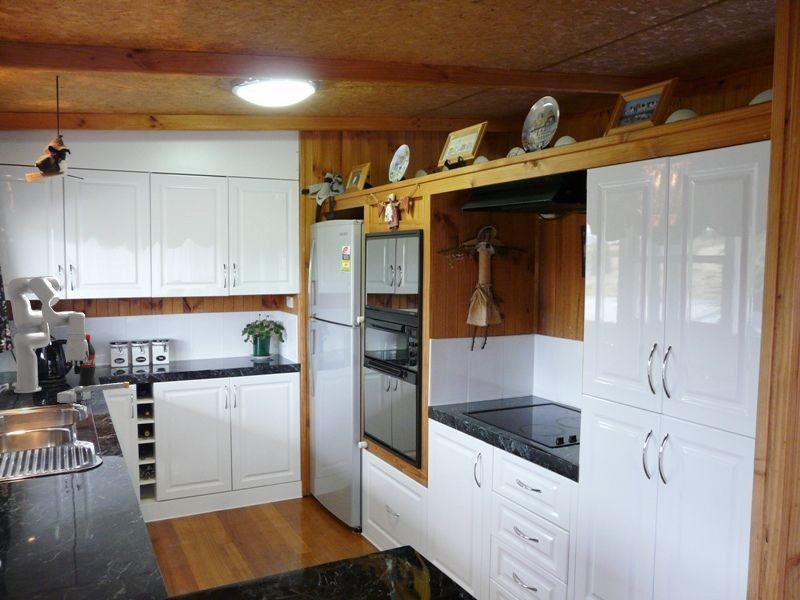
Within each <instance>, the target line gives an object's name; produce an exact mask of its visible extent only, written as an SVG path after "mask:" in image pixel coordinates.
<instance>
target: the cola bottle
mask: <svg viewBox="0 0 800 600" xmlns="http://www.w3.org/2000/svg"><path fill="white" fill-rule="evenodd" d="M85 336H86V340H87V344H88V351H89V358H88V362H86V363H84V364H83V365H82V373H81V374H78V375H79V379H78V384H77V386H93V385H97V381H96V379H95V375H96V374H95V373H96V367H97V366H96V350H95V348H94V345H93V344H92V343H91V334H87V333H85ZM83 360H84V359H83Z"/></svg>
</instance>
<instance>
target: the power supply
mask: <svg viewBox="0 0 800 600" xmlns="http://www.w3.org/2000/svg"><path fill="white" fill-rule="evenodd" d="M56 398H57V399H56V401H57V402H59V403H74V402H76V393H75V391H69V390H65V391H61V392H57V393H56ZM57 402H56V403H57Z"/></svg>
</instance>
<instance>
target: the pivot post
mask: <svg viewBox="0 0 800 600" xmlns="http://www.w3.org/2000/svg"><path fill="white" fill-rule="evenodd" d="M89 403H90V402H89V401H88V402H86V401H82V393H76V404H80V405H85V404H88V405H89ZM85 406H86V405H85Z"/></svg>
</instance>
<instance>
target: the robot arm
mask: <svg viewBox="0 0 800 600" xmlns="http://www.w3.org/2000/svg"><path fill="white" fill-rule="evenodd" d="M60 289H61V282H60V280H59V279H58V278H57V277H56V276H53V275H51V276H50V275H49V276H47V275H45V276H43V275H42V276H30V277H27V276H26V277H22V276H21V277H16V278H15V277H14V278H12V279H11V280H10V281H9V282H8V283H7V286H6V292H7V295H8V299H9V301H10V304H11V310H12V316H13V317H12V318H13V322H14V323H13V324H14V326H15V328H16V329H19V330H26V329H27V330H26V331H21V332H18V333H16V334H15V335H14V337H13V345H14V349H15V358H16V359H15V360H16V361H15V362H16V382H15V381H14V382H13V383H12V384H11V387H13V388H14V387H15V388H14V389H13V393H15V394H29V393H36V392H40V391H42V387H41V386H39V377H38V376H39V374H38V356H37V354H36V352H35V351H34V349H40V348H46V347H48V345H50V341H51V333H50V327H52V328H64V327H68V334H67V335H66V337H67V338H68V339H67V341H66V344H65V360H66V361H67V362H68V363H71V364H72V366H73V367H74V368H73V369H74V375H79V374H81V373H82V365H83V364H84V363H86V362H88V358H89V351H88V344H87V340H86V336H85V334H86V315H85V313H84V312H77V311H73V310H71V311H54V309H53V308H52V307H53V306H55V305H56V304H57V303H58V302H59V301H60V294H58V291H60ZM25 294H34V295H35V296H36V297H37V299H38V300H39V301H40V302H41V304H42V305H41V307H40V309H32V307H31V302H30V300H29V298H28V297H27V296H26V295H25ZM49 326H50V327H49ZM28 329H34V330H28ZM83 359H84V360H83Z"/></svg>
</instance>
